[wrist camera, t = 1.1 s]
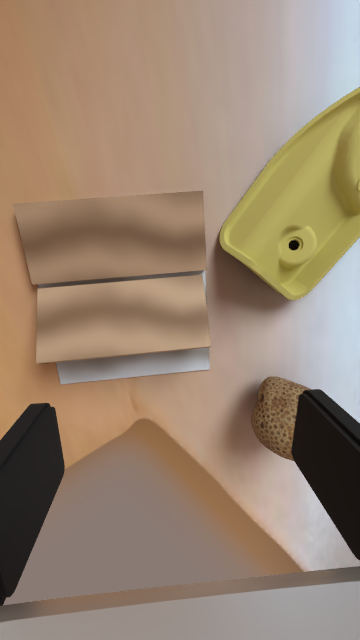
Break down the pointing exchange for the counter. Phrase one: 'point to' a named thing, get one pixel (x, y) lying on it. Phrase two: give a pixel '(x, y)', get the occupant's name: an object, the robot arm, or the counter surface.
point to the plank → (121, 319)
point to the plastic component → (302, 204)
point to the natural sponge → (277, 414)
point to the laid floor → (117, 261)
